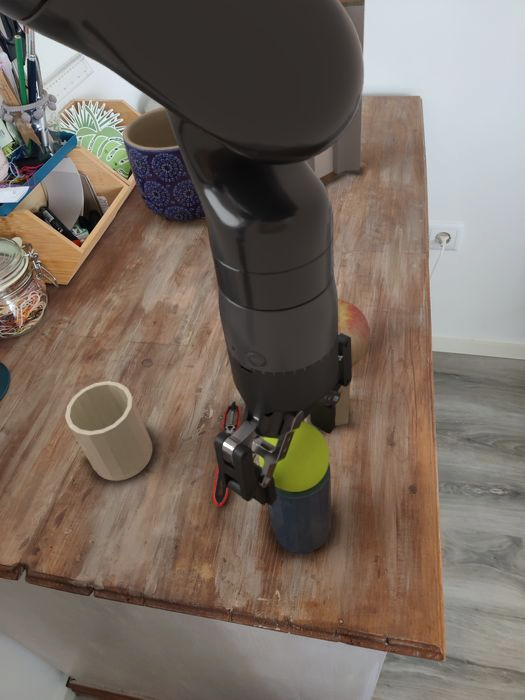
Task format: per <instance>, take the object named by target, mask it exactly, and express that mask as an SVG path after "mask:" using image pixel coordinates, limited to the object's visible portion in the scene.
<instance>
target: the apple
mask: <svg viewBox="0 0 525 700" xmlns="http://www.w3.org/2000/svg"><path fill="white" fill-rule="evenodd" d="M338 332H340V333H343V334H345V335H347V336H349V337H351V355H352V368H353V367H354V366H356V365H357V364H358V363H359V362H361V360H363V358H364V357H365V355H366V354H367V352H368V350H369V346H370V341H371V331H370V326H369V323H368V320H367V318H366V316H365V314H364V313H363V312H362V311H361V310H360V309H359V308H358V306H356V305H354V304H352V303H350V302H348V301H346V300H344V299H341V298H338Z"/></svg>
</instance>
